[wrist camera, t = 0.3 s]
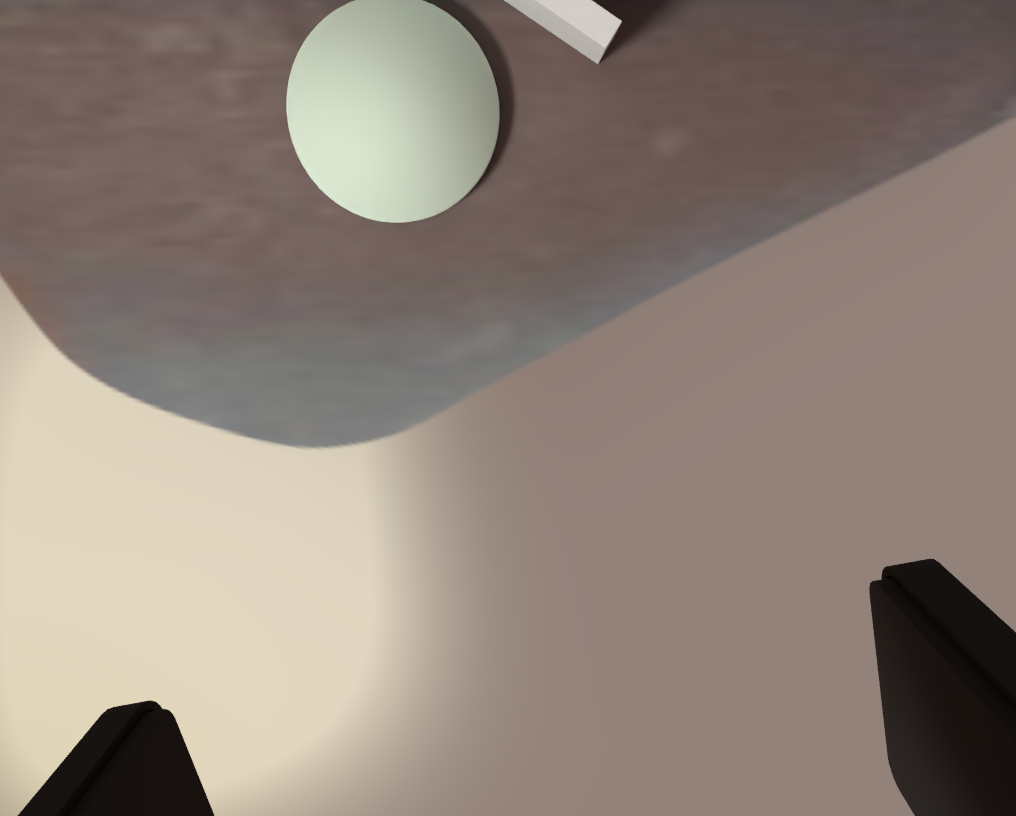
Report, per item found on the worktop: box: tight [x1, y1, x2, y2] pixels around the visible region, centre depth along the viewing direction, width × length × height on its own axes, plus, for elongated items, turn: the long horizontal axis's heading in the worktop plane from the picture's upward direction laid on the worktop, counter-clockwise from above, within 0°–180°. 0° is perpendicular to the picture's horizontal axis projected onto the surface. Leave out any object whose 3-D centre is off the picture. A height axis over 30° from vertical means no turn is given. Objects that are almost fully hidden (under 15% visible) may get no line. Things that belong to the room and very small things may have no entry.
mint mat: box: [287, 0, 500, 223], centre depth 36 cm, size 10×10×1 cm
